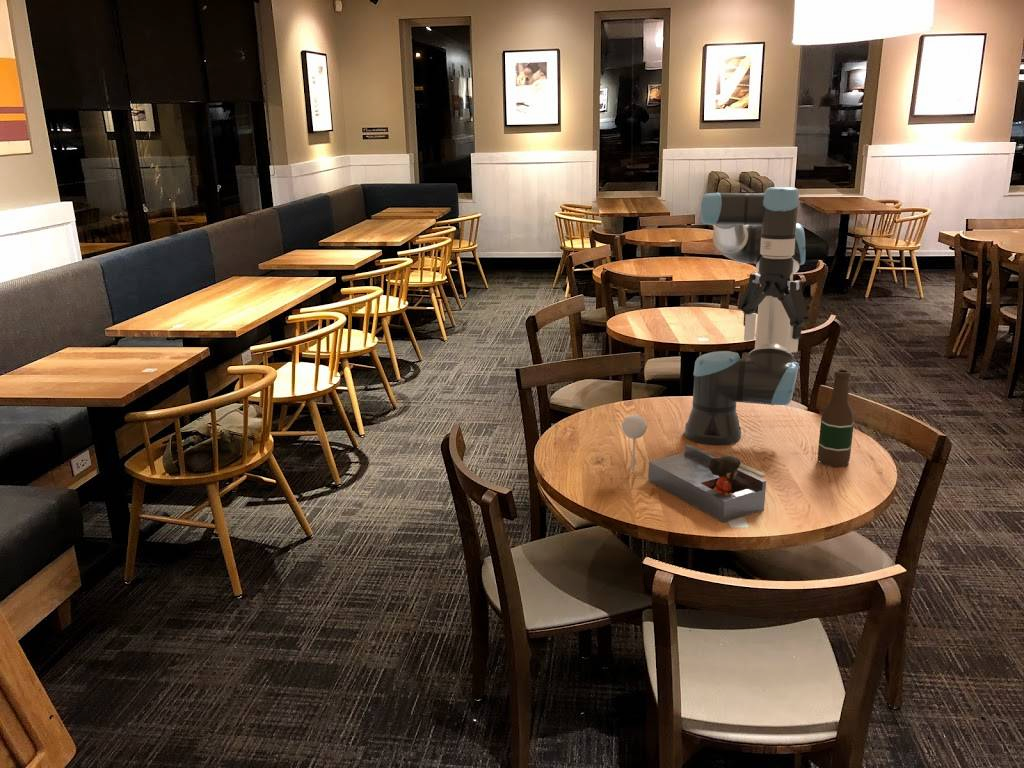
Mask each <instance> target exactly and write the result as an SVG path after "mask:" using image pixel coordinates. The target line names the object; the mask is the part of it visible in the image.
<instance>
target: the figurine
mask: <svg viewBox="0 0 1024 768" xmlns="http://www.w3.org/2000/svg"><path fill="white" fill-rule="evenodd" d="M741 463H742V462H741V460H740V459H739V458H738V457H735V456H733V455H730V454H722V455H720V456H718V457H716V458H712V459H711V463H710V464H709V468H710V471H711V472H712V474H714V475H717V476H719V479H718V481H717V482H716V487H715V488H714V489H713V490H714V491H716V492H718V493H720V494H722V495H724V496H727V495H730V494H732V493H731V490H732V489H731V481H732V480H733V479H734V478H735V477H736V475H737V472H736V471H737V469H738V468H740V465H741Z"/></svg>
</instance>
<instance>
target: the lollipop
mask: <svg viewBox="0 0 1024 768" xmlns="http://www.w3.org/2000/svg"><path fill="white" fill-rule="evenodd" d="M621 429H622V432H623V433H624V435H625V436H626V437H627V438H629V439H632V465H631V466H632V467H631V470H632V473H633V472H634V473H635V454H636V453H635V452H636V439H639V438H640V439H641V438H642V437H643V436H644V435H645V433H646V432H647V430H648V424H647V421H646V420H645V419H644V418H643V417H642V416H641V415H638V414H630V415H628V416H626V418H624V420H623V422H622V423H621Z"/></svg>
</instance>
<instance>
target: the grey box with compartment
mask: <svg viewBox="0 0 1024 768" xmlns="http://www.w3.org/2000/svg"><path fill="white" fill-rule="evenodd" d="M712 458H717V457H716V456H713V455H712V454H710V453H707V452H705V451H704V450H702V449H699V448H697V447H695V446H693V445H691V444H689V443H687V444H684V452H681V453H677V454H673V455H669V456H666V457H662V458H658V459H653V460H651V461H650V460H649V461H648V476H647V477H648V478H647V480H648V482H650V483H652V485H656V486H657V487H659V488H661V489H662V490H664V491H665V492H668V493H669V494H671V495H673V496H675V497H676V498H678V499H681V500H682V501H684V502H685V503H687V504H689V505H691V506H693V507H694V508H696V509H698V510H700V511H702V512H703V513H705V514H707V515H709V516H711V517H712V518H714V519H716V520H717V521H720V522H721V523H728V522H730V521H733V520H736V519H739V518H743V517H746V516H748V515H751V514H755V513H758V512H761V511H764V510H765V503H766V491H767V489H766V488H767V480H765V479H763V478H762V477H761V478H760V477H759V476H757V475H756V474H755V475H754V473H753V474H752V473H750V472H748V471H747V470H745V469H742V468H740V467H739V468H738V469H737V471H736V472H737V475H736V477H735V478H734V479H733V480H732V481H731V489H732V490H731V493H732V494H730V495H727V496H724V495H722V494H720V493H718V492H716V491H714V490H713V489H714V488H715V487H716V482H717V481H718V479H719V476H717V475H714V474H712V472H711V471H710V468H709V464H710V463H711V459H712Z"/></svg>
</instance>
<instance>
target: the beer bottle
mask: <svg viewBox="0 0 1024 768" xmlns="http://www.w3.org/2000/svg"><path fill="white" fill-rule="evenodd" d="M833 375H834V382H833V388H832V394H831V398H830V400H829V402H828V404H827V405H826V406H825V407H824V409H823V411H822V414H821V418H820V426H819V438H818V439H819V440H818V447H817V461H818V462H819V461H820V462H819V463H820V464H821V465H824V466H826V465H827V466H828V467H831V468H832V467H833V468H842V467H846V466H847V465H848V464H849V462H850V460H851V452H852V443H853V435H854V434H853V433H854V424H855V412H854V410H853V407H852V406H851V404H850V403H849V389H850V388H849V385H850V384H849V383H850V382H849V381H850V377H851V372H850V371H849V370H847V369H837V370H835V372H834V374H833Z"/></svg>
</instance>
